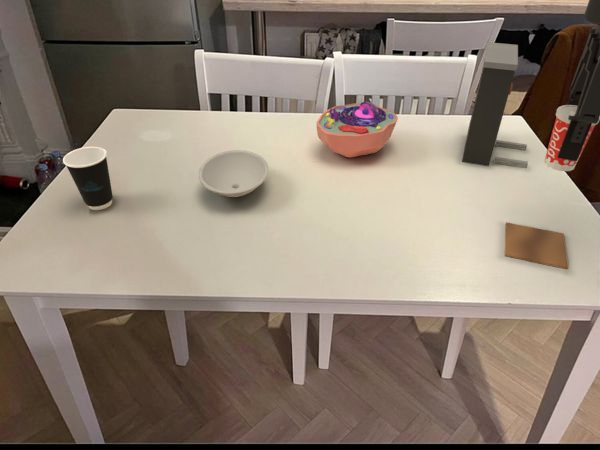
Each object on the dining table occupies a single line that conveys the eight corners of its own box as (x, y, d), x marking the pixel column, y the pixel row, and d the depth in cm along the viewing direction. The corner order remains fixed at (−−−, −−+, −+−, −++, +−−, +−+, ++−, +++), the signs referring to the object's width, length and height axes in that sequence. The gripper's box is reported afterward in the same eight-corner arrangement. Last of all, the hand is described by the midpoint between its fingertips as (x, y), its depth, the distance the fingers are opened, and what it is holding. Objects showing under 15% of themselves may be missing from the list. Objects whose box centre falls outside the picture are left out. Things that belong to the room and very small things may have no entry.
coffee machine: (525, 144, 115) (556, 48, 101) (526, 172, 104) (560, 69, 90) (465, 136, 119) (487, 42, 105) (460, 162, 108) (484, 61, 94)
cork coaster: (563, 234, 86) (563, 233, 86) (567, 269, 78) (568, 267, 78) (505, 223, 89) (506, 222, 88) (504, 256, 81) (505, 254, 81)
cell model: (301, 147, 114) (300, 103, 107) (364, 127, 123) (368, 86, 116) (342, 177, 103) (344, 130, 96) (409, 153, 111) (415, 108, 104)
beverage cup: (533, 154, 79) (561, 73, 70) (570, 155, 79) (602, 73, 70) (547, 173, 74) (578, 87, 66) (586, 174, 74) (623, 88, 65)
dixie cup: (93, 219, 91) (76, 170, 84) (72, 205, 95) (54, 157, 88) (128, 201, 95) (114, 154, 89) (106, 188, 100) (92, 142, 93)
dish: (271, 212, 92) (269, 191, 89) (198, 216, 91) (194, 195, 88) (268, 168, 106) (267, 148, 103) (205, 170, 105) (202, 151, 102)
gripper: (585, -24, 69) (538, 121, 83) (603, 3, 55) (542, 173, 69) (643, -21, 67) (585, 128, 81) (677, 8, 52) (599, 182, 66)
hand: (565, 148), depth 75 cm, fingers closed on beverage cup, 6 cm apart
